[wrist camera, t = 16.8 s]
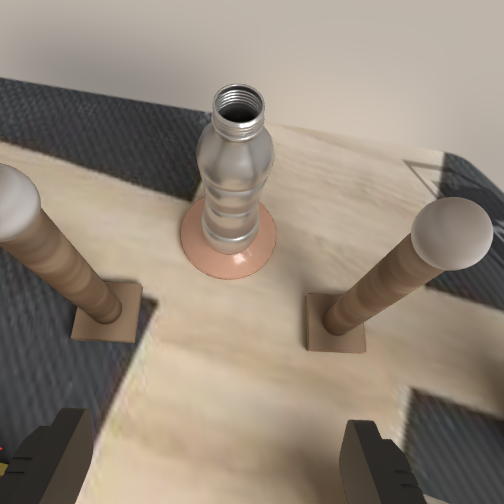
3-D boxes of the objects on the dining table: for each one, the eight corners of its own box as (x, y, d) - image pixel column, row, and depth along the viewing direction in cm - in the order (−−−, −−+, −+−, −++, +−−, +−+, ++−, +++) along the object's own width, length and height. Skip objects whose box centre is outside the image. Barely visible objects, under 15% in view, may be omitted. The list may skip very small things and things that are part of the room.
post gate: (358, 299, 44) (515, 171, 21) (362, 353, 41) (544, 276, 18) (86, 284, 42) (-72, 123, 19) (74, 340, 39) (-123, 235, 16)
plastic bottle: (194, 253, 43) (177, 130, 25) (210, 202, 46) (206, 59, 28) (250, 267, 43) (274, 153, 25) (263, 215, 46) (294, 80, 28)
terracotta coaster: (291, 224, 47) (292, 221, 46) (243, 297, 43) (243, 295, 42) (215, 179, 48) (215, 176, 47) (161, 246, 44) (161, 243, 43)
